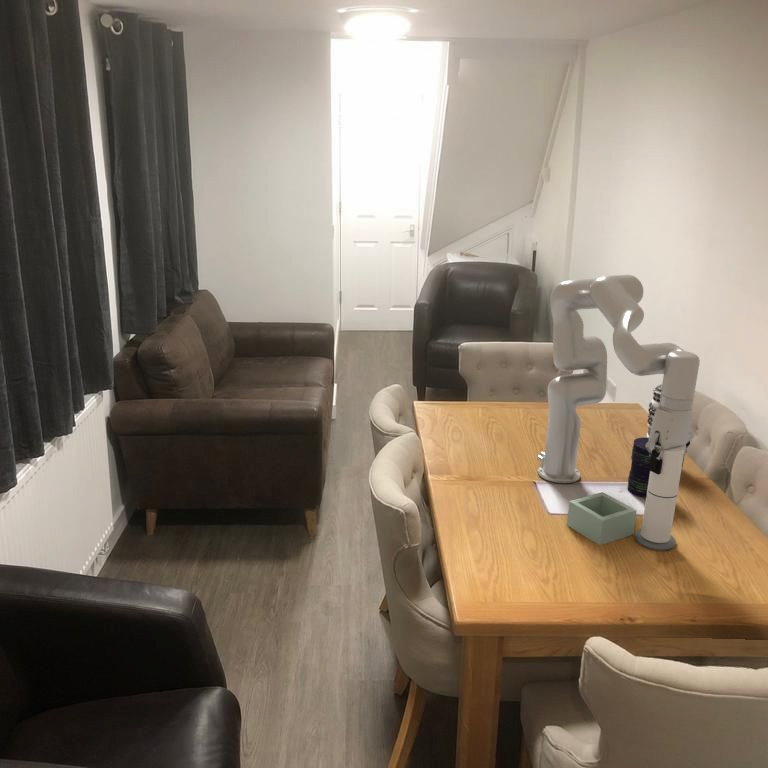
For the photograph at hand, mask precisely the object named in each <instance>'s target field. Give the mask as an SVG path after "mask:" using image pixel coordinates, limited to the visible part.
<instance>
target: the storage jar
mask: <svg viewBox="0 0 768 768" xmlns="http://www.w3.org/2000/svg"><path fill="white" fill-rule="evenodd" d="M648 441H649V438H646V437H638V438H636V439H634V440H633V444H632V449H631V450H632V451H631V456H630V457H631V459H630V460H631V466H630V470H629V473H628V477H627V486H626V487H627V488H626V489H627V492H628V493H630V494H631V495H632V496H635V497H638V498H642V499H646V496H647V489H648V482H649V476H650V470H649V465H650V459H651V456H650V455H649V453H648V450H647V448H646V447H645V445H646V443H647V442H648Z"/></svg>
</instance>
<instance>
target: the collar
mask: <svg viewBox="0 0 768 768" xmlns="http://www.w3.org/2000/svg"><path fill="white" fill-rule="evenodd" d="M567 511H568V512H567V518H566V526H568V527H569V528H571V529H572V530H573V531H575V532H577V533H579V534H580V535H582V536H584V537H586V538H587V539H588V540H590V541H591V542H593V543H595V544H597V545H598V546H602V545H605V544H608V543H611V542H614V541H618V540H620V539H624V538H626V537H629V536H633V535H634V531H635V525H636V517H637V510H636V509H635V508H633V507H631V506H629V505H627V504H626V503H623V502H622V501H620V500H618V499H616V498H615V497H613V496H611V495H609V494H607V493H605V492H603V491H601V492H598V493H595V494H594V493H593V494H590V495H587V496H583V497H579V498H576V499H573V500H569V501H568V508H567Z"/></svg>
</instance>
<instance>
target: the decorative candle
mask: <svg viewBox="0 0 768 768" xmlns="http://www.w3.org/2000/svg"><path fill="white" fill-rule="evenodd" d="M661 389H662V384H659V385H657V386H656V387H654V388H653V389H652V391H653V393H652V398H651V402H649V404H648V407H649V408H648V410H647V411H648V415H647V417H648V419H647V420H646V421H647V427H648V428H647V429H648V430H647V433H646V437H645V438H649V435H650V430H651V425H652V421H653V417H654V414H655V411H656V409H657V407H659V403H660V396H661Z"/></svg>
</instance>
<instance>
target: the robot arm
mask: <svg viewBox="0 0 768 768" xmlns="http://www.w3.org/2000/svg"><path fill="white" fill-rule="evenodd" d="M643 298H644V287H643V283H642V282H641V281H640V279H639V278H637V277H636V276H635V275H632V274H618V275H617V274H616V275H604V276H601V277H598V278H580V279H570V280H564V281H561V282H559V283H558V284H556V286H554V287H553V289H552V291H551V294H550V298H549V301H550V303H549V304H550V311H551V315H552V317H551V318H552V325H553V329H552V330H553V331H552V332H553V334H552V335H553V336H552V337H553V339H552V340H553V341H552V358H553V364H554V366H555V367H556V369H558V370H560V371H579V370H580V371H581V370H582V372H581V373H573V374H572V373H569V374H564V375H563V374H562V375H558V376H556V377H554V378H553V379H552V380H551V381H549V383H548V386H547V401H548V417H547V418H548V419H547V428H546V429H547V431H546V439H545V448H544V449H545V450H544V451H541V453H539V454H538V456H536V457H537V458H536V459H537V460H538V461H540V462H541V465H540V466H539V467H538V468H537V474H538V475H539V477H540V478H542V479H544V480H546V481H549V482H551V483H558V484H572V483H575V482H577V481H579V480H580V479H581V472H580V471H579V470H578V468H577V459H578V450H579V443H580V442H579V441H580V433H581V417H580V415H579V414H578V412H577V409H576V408H577V407H581V406H589V405H596V404H599V403H601V402H602V401H603V400H604V399H605V397H606V394H607V393H606V392H607V387H608V386H607V383H608V380H607V379H608V371H607V370H608V351H607V348H606V344H605V343H604V341H603V340H602V339H601V338H599V337H597V336H593V335H591V336H590V335H589V336H587V335H586V336H584V335H585V334H584V326H585V325H584V321H583V319H582V317H581V315H580V313H579V312H578V310H579V311H580V310H593V309H598V310H599V312H600V313H601V315H603V316H604V317H605V319H606V320H607V322H608V323H609V324H610V325H611V326H612V328H613V332H612V333H613V334H612V345H613V351H614V352H615V355H616V356H617V358H618V359H619V361H620V362H621V364H622V365H623V366H624V367H625V369H627V371H629V372H630V373H631V374H633V375H635V376H639V377H642V376H643V377H644V376H645V377H646V376H651V375H663V376H662V378H663V379H662V389H661V396H660V403H659V407H657V409H656V411H655V414H654V417H653V421H652V425H651V430H650V435H649V441H648V442H647V443H646V445H645V447H646V448H647V450H648V453H649V455H650V456H651V459H650V465H649V470H650V471H652V472H654V473H656V474H661V468H662V462H663V460H662V459H661V457H662V455H663V454H664V450H666V449H670V448H674V447H677V446H681V445H682V446H684V447H685V450H684V456H683V463H682V468H683V467H684V462H685V454H686V453H687V451H688V447H689V446H690V444H691V442H692V440H693V439H694V437H695V434H694V433H693V432H692V425H693V404H694V400H695V399H694V398H695V392H696V386H697V379H698V373H699V367H700V361H701V360H700V358H699V356H698V355H697V354H695V353H693V352H690V351H686V350H685V349H683V348H681V347H680V346H679V345H677V344H675V343H672V342H662V343H649V344H639V343H638V341H637V340H636V339H635V337H634V336H633V334H632V332H634V331H635V330H637V328H639V326H640V325H641V324H642V323H643V321H644V317H645V313H644V310H643V308H642V307H641V306H640V305H639V303H640V302H641V301H642V299H643ZM659 443H660V444H661V446H659ZM657 448H659V449H660V451H659V453H658V452H657V451H656V450H657Z"/></svg>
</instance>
